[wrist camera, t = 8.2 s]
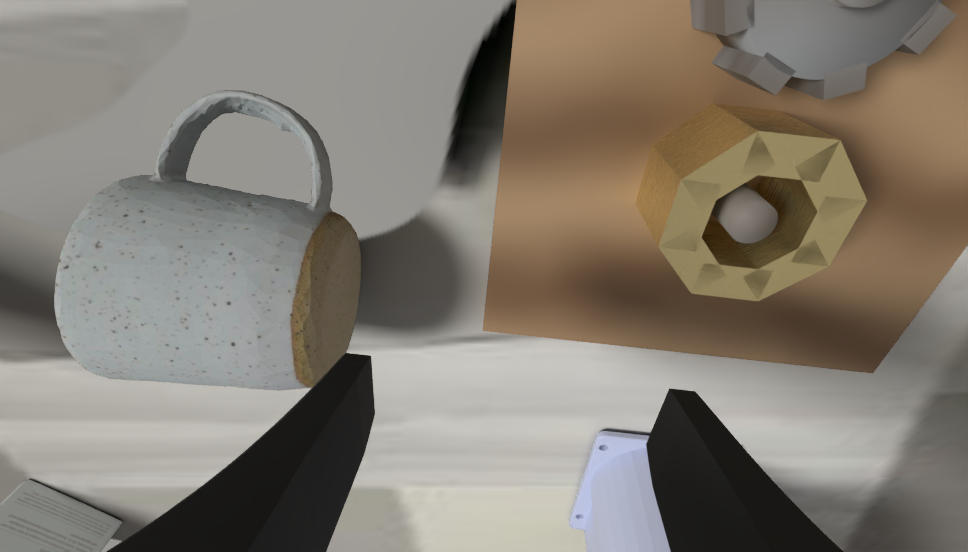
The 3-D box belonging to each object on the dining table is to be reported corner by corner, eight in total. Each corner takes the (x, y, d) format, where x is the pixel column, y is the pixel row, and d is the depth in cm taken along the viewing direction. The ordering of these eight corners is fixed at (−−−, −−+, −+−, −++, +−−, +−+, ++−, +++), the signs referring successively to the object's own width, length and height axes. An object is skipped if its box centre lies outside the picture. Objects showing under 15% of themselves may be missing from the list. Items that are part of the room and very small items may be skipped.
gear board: (856, 355, 22) (932, 438, 18) (484, 315, 22) (476, 387, 18) (1202, -143, 12) (1533, -206, 8) (538, -203, 13) (546, -294, 9)
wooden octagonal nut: (759, 255, 18) (805, 306, 15) (624, 239, 18) (644, 288, 15) (826, 115, 15) (899, 146, 12) (665, 97, 15) (700, 124, 12)
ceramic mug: (371, 320, 23) (313, 449, 16) (210, 299, 23) (87, 419, 16) (368, 100, 18) (279, 161, 11) (156, 71, 18) (-62, 115, 11)
